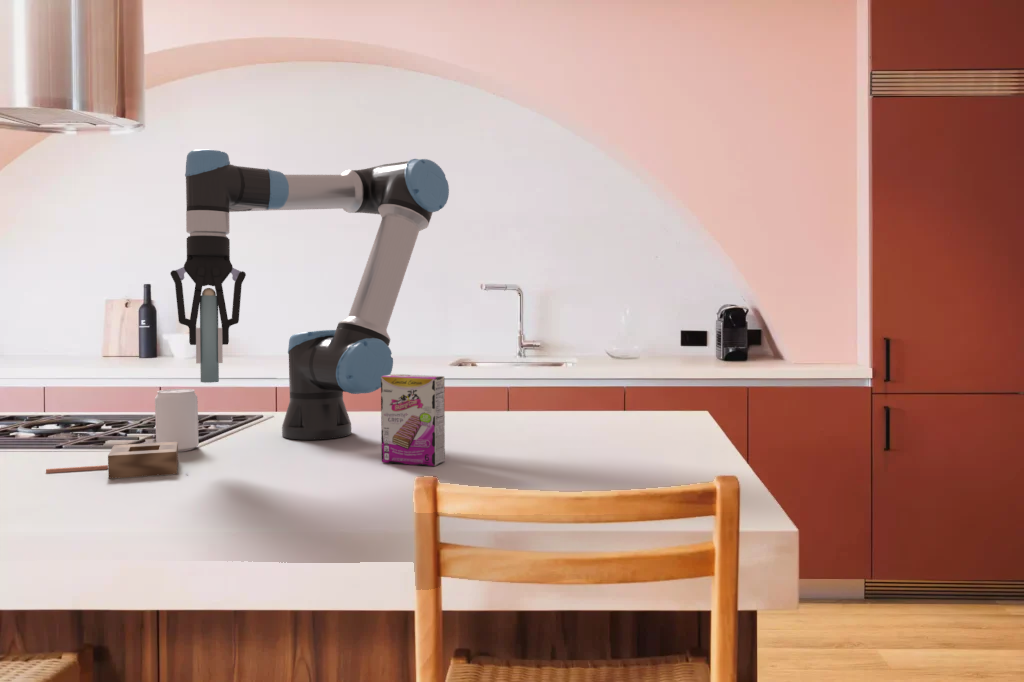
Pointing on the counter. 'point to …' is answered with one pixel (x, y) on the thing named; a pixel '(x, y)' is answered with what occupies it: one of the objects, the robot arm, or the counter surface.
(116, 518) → the counter surface
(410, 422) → the candy bar box
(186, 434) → the beverage can
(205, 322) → the grey-green rod
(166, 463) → the wooden block with hole
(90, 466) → the copper rod
